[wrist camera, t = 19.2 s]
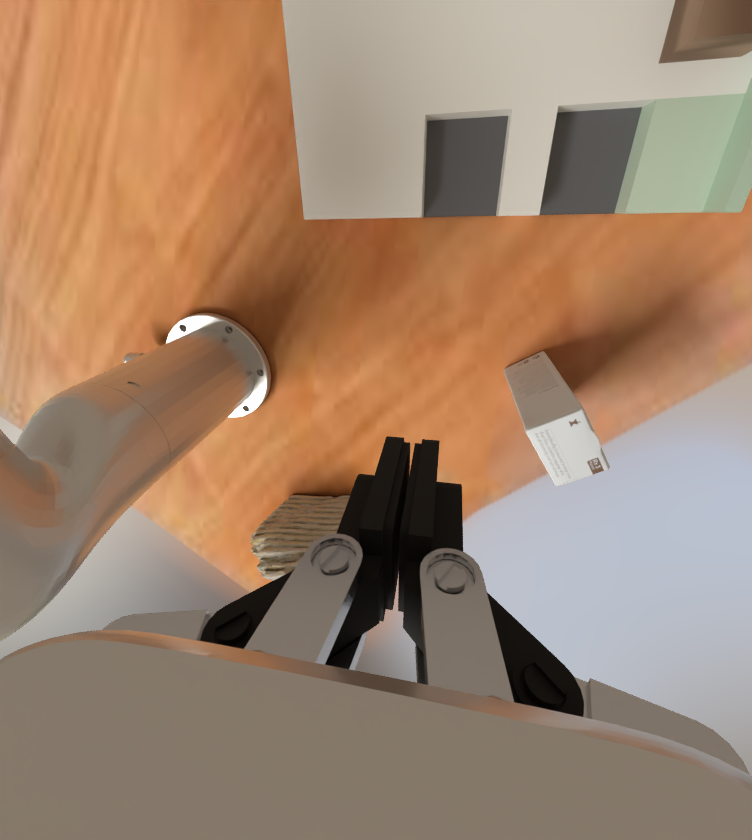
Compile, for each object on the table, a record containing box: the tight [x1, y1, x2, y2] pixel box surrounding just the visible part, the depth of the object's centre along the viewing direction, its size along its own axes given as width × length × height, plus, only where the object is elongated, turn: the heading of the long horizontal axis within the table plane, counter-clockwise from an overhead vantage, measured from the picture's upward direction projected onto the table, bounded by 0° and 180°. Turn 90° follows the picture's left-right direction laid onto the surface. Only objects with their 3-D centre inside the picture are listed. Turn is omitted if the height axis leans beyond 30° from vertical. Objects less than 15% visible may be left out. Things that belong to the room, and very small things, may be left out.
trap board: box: [282, 0, 752, 220], centre depth 25 cm, size 31×15×5 cm, turn 91°
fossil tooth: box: [250, 495, 350, 580], centre depth 47 cm, size 12×6×15 cm
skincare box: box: [504, 351, 609, 486], centre depth 32 cm, size 6×4×12 cm
